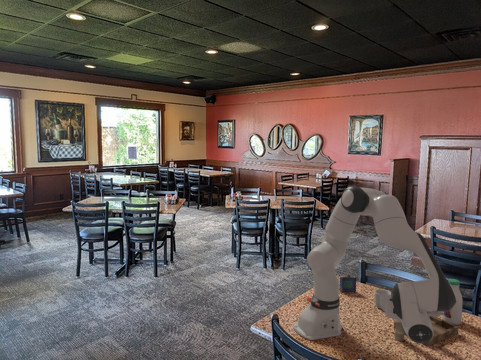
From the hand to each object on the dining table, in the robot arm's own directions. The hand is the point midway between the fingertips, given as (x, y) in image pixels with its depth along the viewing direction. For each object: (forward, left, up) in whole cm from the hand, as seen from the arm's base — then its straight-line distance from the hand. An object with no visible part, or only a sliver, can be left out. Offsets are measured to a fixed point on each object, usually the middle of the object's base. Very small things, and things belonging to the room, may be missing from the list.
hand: (406, 295), depth 135 cm
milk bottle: (+44, +8, -25) cm, 51 cm away
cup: (+26, +32, -25) cm, 47 cm away
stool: (+25, +8, -24) cm, 35 cm away
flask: (+25, +56, -25) cm, 66 cm away
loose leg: (+9, +9, -24) cm, 27 cm away
